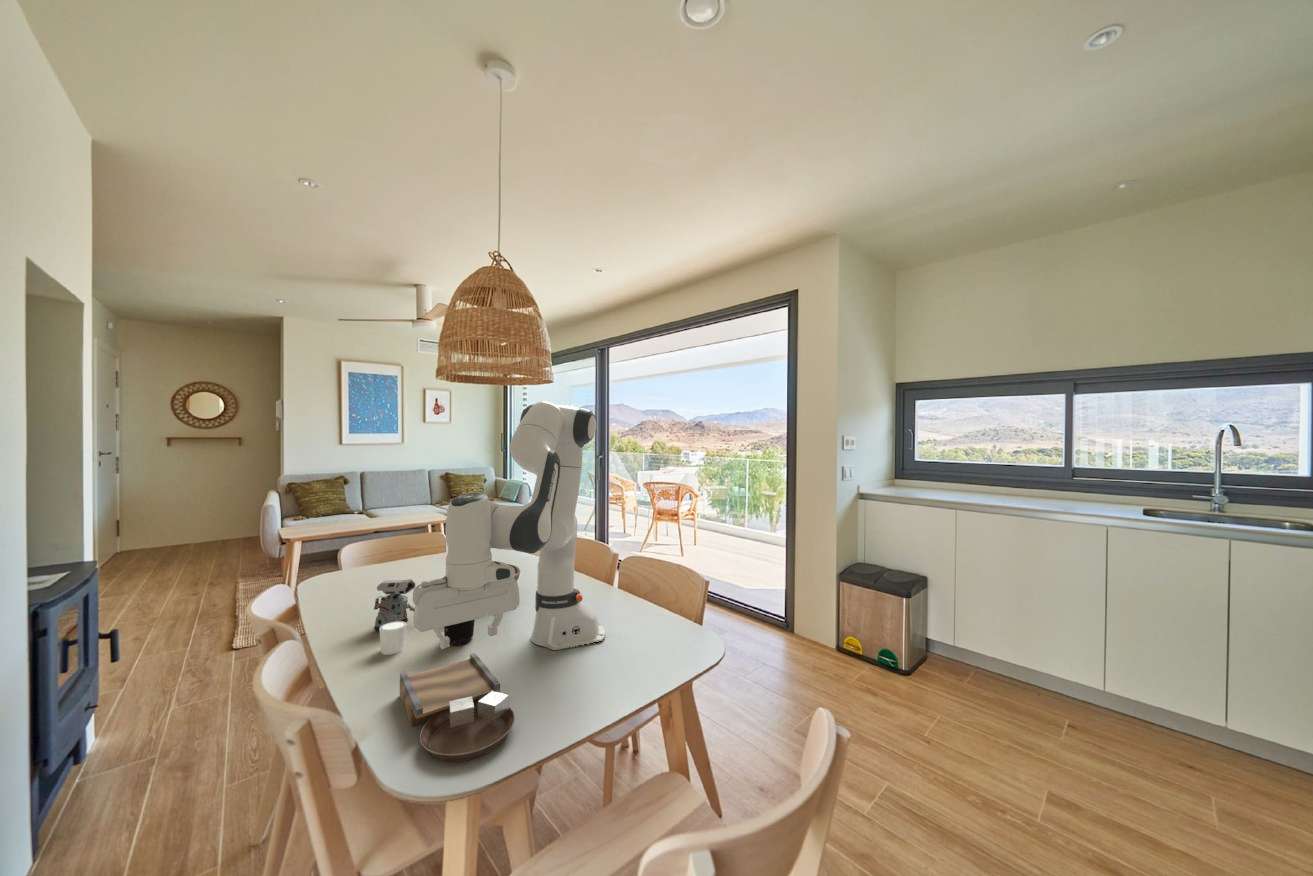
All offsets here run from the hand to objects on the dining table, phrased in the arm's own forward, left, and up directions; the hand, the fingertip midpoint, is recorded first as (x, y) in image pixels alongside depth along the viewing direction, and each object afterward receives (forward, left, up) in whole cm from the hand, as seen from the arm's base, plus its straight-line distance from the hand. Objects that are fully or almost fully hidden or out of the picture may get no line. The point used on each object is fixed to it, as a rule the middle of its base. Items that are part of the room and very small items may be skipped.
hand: (469, 640), depth 94 cm
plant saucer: (0, +1, -20) cm, 20 cm away
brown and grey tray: (+6, -13, -19) cm, 24 cm away
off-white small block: (+1, -1, -16) cm, 16 cm away
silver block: (-5, -2, -16) cm, 17 cm away
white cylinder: (+27, -44, -19) cm, 55 cm away
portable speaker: (+10, -47, -19) cm, 51 cm away
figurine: (+31, -61, -19) cm, 71 cm away
